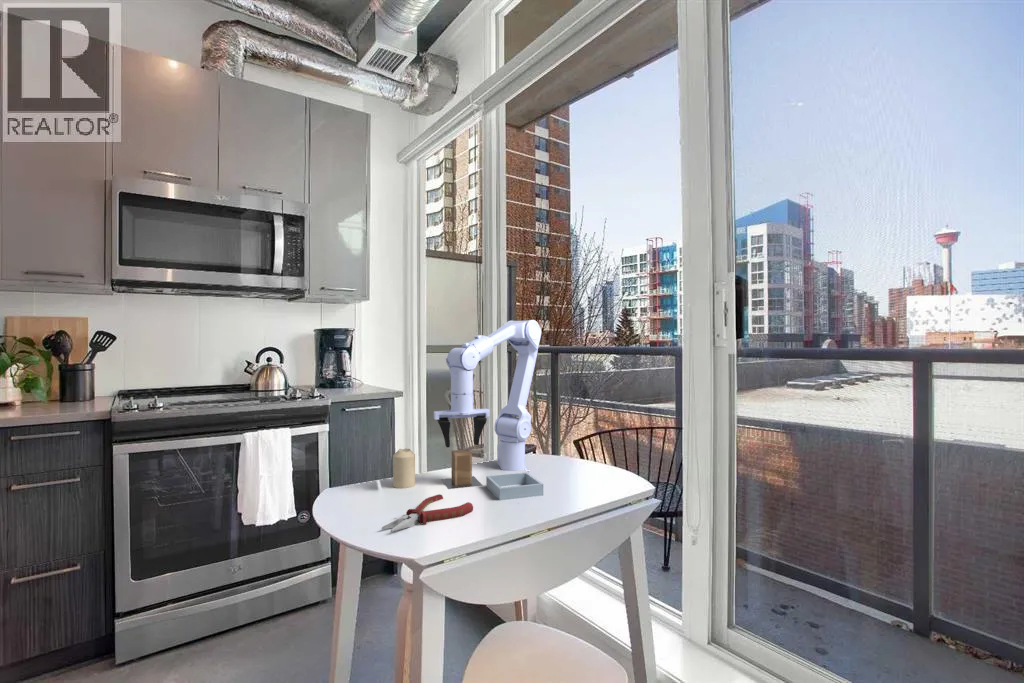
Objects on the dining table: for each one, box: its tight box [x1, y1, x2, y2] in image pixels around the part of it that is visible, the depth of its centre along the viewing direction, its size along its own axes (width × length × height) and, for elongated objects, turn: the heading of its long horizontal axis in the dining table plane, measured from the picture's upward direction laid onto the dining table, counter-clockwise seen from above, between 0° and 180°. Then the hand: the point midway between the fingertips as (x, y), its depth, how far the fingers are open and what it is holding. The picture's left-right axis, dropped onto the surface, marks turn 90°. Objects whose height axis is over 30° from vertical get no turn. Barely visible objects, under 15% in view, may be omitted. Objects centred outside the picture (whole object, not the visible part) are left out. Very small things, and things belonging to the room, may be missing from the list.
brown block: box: [451, 448, 473, 485], centre depth 130 cm, size 4×4×8 cm
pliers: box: [381, 494, 474, 532], centre depth 106 cm, size 12×20×3 cm, turn 143°
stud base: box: [441, 475, 484, 490], centre depth 130 cm, size 9×9×3 cm
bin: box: [485, 471, 544, 501], centre depth 122 cm, size 11×11×4 cm
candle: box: [392, 448, 416, 489], centre depth 127 cm, size 6×6×10 cm
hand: (462, 445), depth 129 cm, fingers open, 7 cm apart
